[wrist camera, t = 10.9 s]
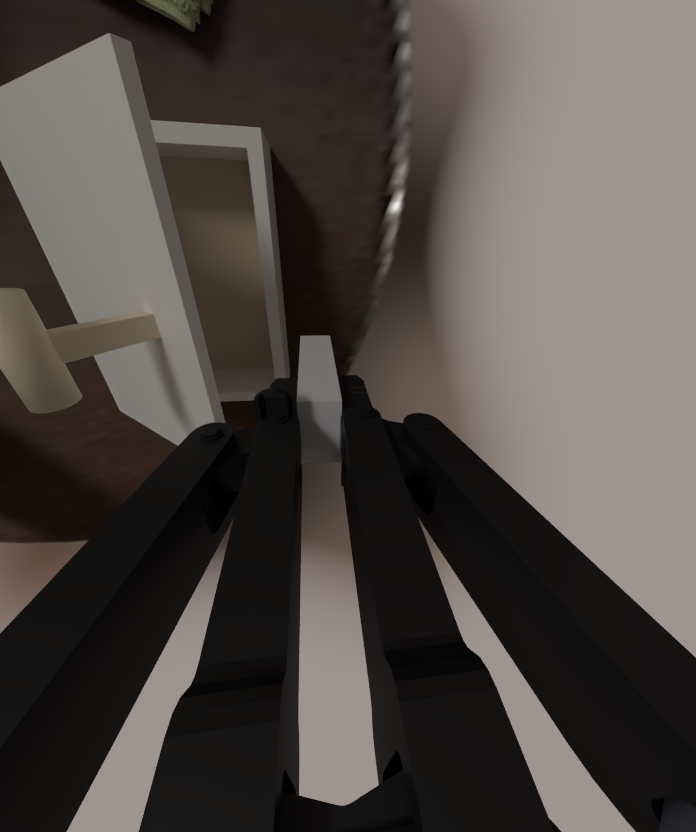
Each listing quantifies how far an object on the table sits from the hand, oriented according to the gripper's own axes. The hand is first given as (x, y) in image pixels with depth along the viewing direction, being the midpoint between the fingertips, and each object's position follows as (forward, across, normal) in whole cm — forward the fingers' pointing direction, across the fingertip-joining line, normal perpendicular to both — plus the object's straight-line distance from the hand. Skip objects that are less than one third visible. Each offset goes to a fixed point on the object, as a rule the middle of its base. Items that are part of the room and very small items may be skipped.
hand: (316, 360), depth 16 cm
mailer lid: (+11, -14, 0) cm, 18 cm away
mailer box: (+24, -12, 0) cm, 27 cm away
